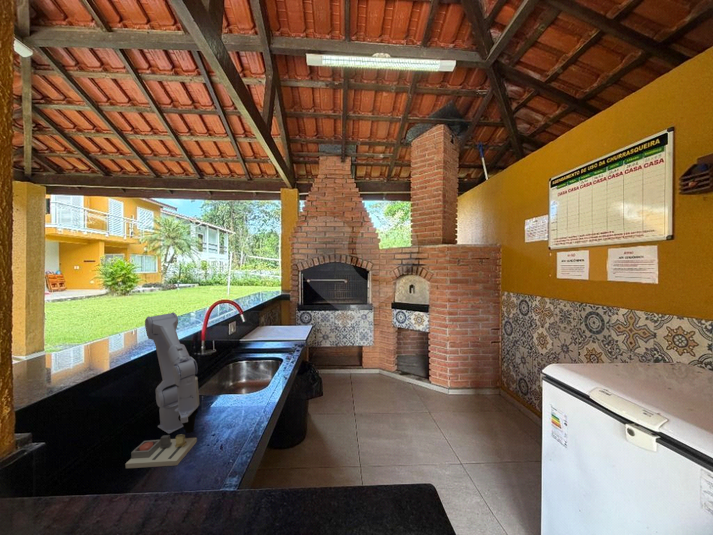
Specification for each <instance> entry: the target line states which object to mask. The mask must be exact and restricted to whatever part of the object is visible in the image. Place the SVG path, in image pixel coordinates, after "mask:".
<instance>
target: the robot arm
mask: <svg viewBox="0 0 713 535" xmlns="http://www.w3.org/2000/svg"><path fill="white" fill-rule="evenodd" d="M178 324H179V318H178V315H177V314H176V313H175V312H170V313H164V314H159V315H154V316H153V315H152V316H146V318H145V320H144V327H145V332H146V336H147V339H148V340H152V341H153V342H154V346H155V351H156V356H157V359H158V364H159V368H160V373H161V379H162V380H161V382H160V383H159V384H158V385H157V387H156V388H155V400H156V405H157V407H158V408H159V410H158V412H159V422H160V423H159V424H158V425H157V428H159V430H162V431H164V432H165V433H167V435H171V434H172V433H174V432H176V431H178V430H180V429H182V428H183V429H184V432H185V433H186V434H191V433H194V429H195V423H196V416H197V414H198V411H199V406H198V403H197V394H196V381H195V377H196V375H197V374H198V371H199V369H198V363H197V360H196V359H194V358H193V357H192V356H190V354H189V351H188V350H187V347H186V346H185V344H184V343H181V342H180V340H179V337H178V336H179V335H178V333H177V330H178Z"/></svg>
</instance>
